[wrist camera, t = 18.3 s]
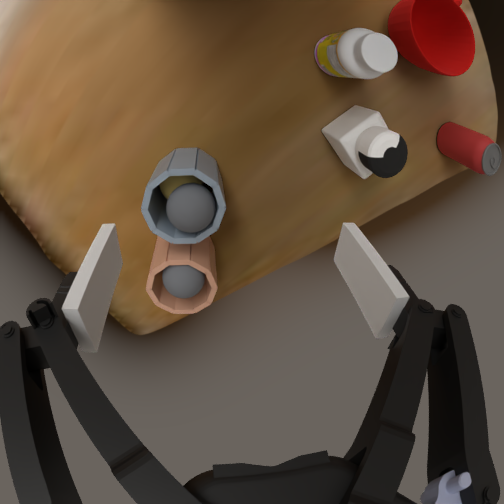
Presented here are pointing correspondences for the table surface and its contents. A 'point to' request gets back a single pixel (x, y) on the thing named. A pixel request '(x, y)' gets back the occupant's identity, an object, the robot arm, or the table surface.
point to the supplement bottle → (356, 54)
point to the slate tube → (155, 201)
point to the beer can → (469, 148)
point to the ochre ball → (177, 183)
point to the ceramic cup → (433, 35)
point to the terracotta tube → (183, 254)
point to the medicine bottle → (366, 143)
